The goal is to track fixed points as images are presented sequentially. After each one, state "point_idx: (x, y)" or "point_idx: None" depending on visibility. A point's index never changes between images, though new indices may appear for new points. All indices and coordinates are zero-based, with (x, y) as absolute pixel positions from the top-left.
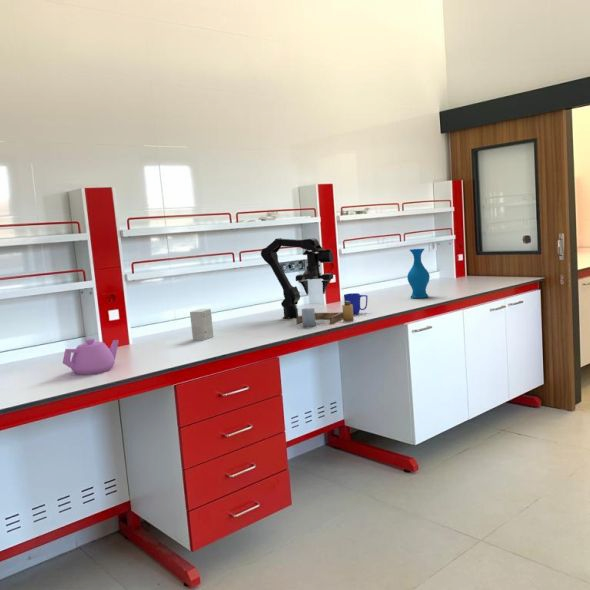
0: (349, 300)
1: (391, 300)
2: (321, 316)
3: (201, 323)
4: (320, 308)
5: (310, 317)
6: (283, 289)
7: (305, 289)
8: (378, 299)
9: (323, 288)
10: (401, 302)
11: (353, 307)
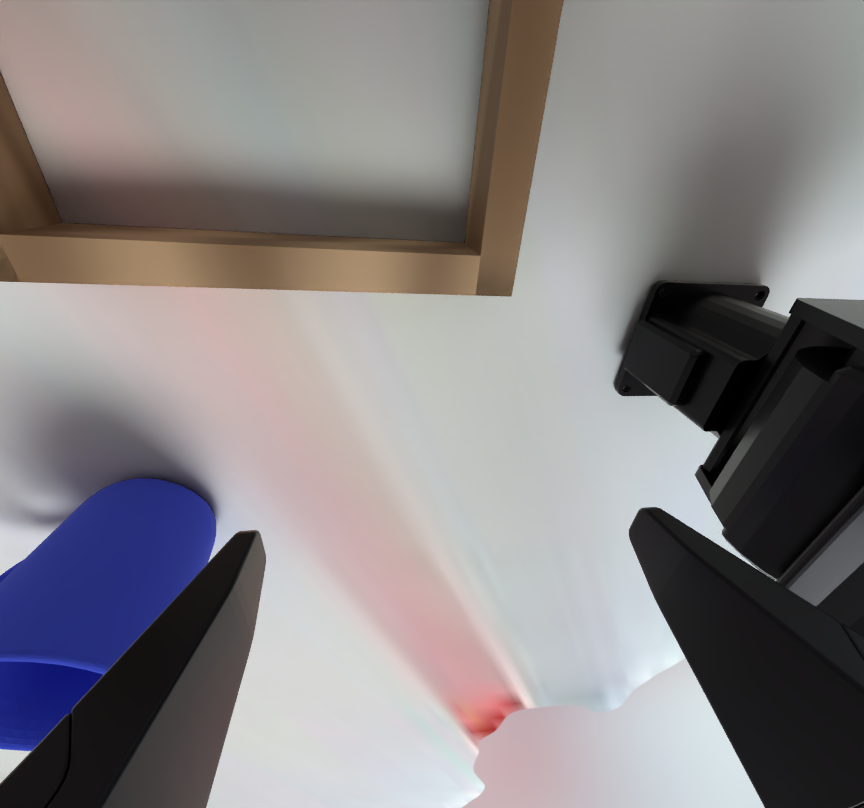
0: (36, 588)
1: None
2: (313, 241)
3: None
4: (515, 625)
5: None
6: None
7: (762, 594)
8: (299, 772)
9: (144, 673)
10: None
11: (63, 525)
